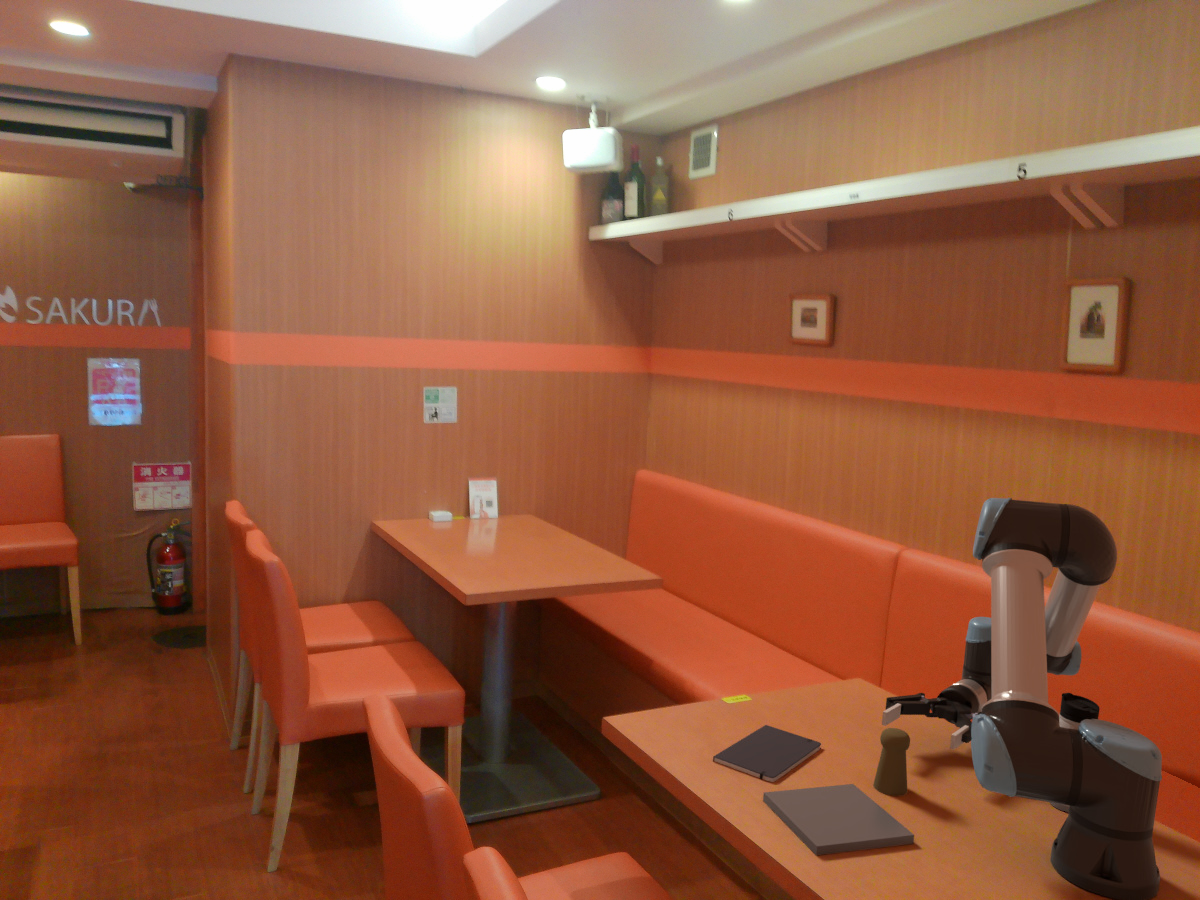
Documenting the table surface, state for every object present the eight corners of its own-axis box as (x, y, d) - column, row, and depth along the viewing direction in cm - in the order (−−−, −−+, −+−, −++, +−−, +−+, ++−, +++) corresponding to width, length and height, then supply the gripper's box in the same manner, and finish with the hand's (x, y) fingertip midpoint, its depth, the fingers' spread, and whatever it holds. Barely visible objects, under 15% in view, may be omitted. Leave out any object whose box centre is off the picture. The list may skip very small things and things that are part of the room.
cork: (909, 798, 171) (915, 739, 169) (874, 793, 172) (880, 734, 171) (905, 783, 177) (911, 726, 175) (871, 778, 178) (877, 722, 176)
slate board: (913, 843, 155) (914, 834, 155) (816, 855, 149) (816, 846, 149) (852, 791, 172) (853, 783, 172) (763, 800, 166) (763, 792, 166)
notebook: (765, 731, 198) (712, 764, 181) (765, 724, 197) (713, 756, 181) (822, 750, 190) (772, 786, 173) (822, 743, 190) (773, 777, 173)
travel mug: (1064, 794, 176) (1077, 690, 174) (1094, 811, 170) (1108, 704, 168) (1039, 798, 174) (1052, 693, 171) (1069, 816, 168) (1083, 707, 165)
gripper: (1021, 739, 189) (981, 772, 173) (902, 701, 205) (855, 727, 190) (1025, 703, 188) (985, 732, 172) (905, 667, 204) (859, 691, 189)
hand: (917, 730), depth 181 cm, fingers open, 13 cm apart
